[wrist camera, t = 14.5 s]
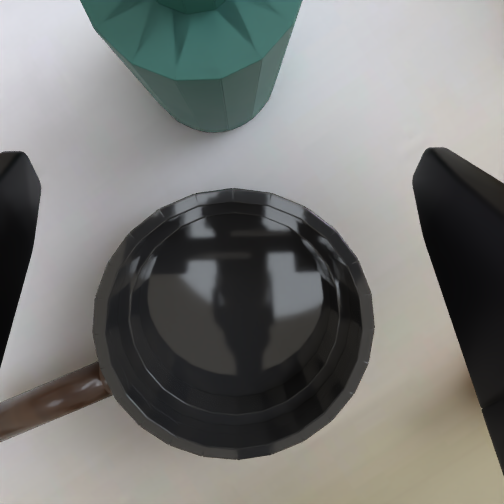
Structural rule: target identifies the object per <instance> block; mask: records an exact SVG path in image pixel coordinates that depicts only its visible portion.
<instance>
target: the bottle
mask: <svg viewBox="0 0 504 504" xmlns="http://www.w3.org/2000/svg"><path fill="white" fill-rule="evenodd" d="M80 1H81V3H82V5H83V7H84V9H85V11H86V13H87V15H88V17H89V19H90V21H91V24H92V26H93V28H94V29H95V30H96V32H97V33H98V34H99V35H100V36H101V38H102V39H103V40H104V41H105V42H106V43H107V44H108V46H109V47H110V48H111V49H112V50H113V51H114V52H115V54H116V55H117V56H118V57H119V58H120V59H121V60H122V62H123V63H124V64H125V65H126V66H127V67H128V68H129V70H130V71H131V72H132V73H133V74H134V75H135V76H136V78H137V79H138V80H139V81H140V82H141V83H142V84H143V86H144V87H145V88H146V89H147V90H148V91H149V92H150V94H151V95H152V96H153V97H154V98H155V99H156V100H157V102H158V103H159V104H160V105H161V106H162V107H163V108H164V109H165V110H166V111H168V112H169V114H170V115H172V116H173V117H174V118H175V119H176V120H177V121H178V122H180V123H183V124H184V125H186V126H188V127H191V128H193V129H196V130H200V131H205V132H223V131H228V130H232V129H235V128H237V127H240V126H242V125H243V124H245V123H247V122H248V121H250V120H251V119H252V118H254V117H255V116H256V115H257V114H258V113H259V112H260V110H261V109H262V108H263V107H264V105H265V104H266V102H267V101H268V100H269V98H270V95H271V92H272V89H273V87H274V84H275V81H276V78H277V75H278V72H279V69H280V66H281V63H282V60H283V57H284V54H285V51H286V48H287V45H288V42H289V39H290V36H291V33H292V30H293V27H294V24H295V21H296V18H297V15H298V12H299V9H300V6H301V3H302V0H80Z"/></svg>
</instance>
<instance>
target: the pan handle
mask: <svg viewBox="0 0 504 504" xmlns="http://www.w3.org/2000/svg"><path fill="white" fill-rule="evenodd" d="M112 395H113V394H112V392H111V390H110V388H109V386H108V384H107V382H106V380H105V378H104V376H103V374H102V372H101V370H100V367H99V362H96V363H93V364H91V365H89V366H86V367H84V368H82V369H79V370H77V371H74V372H72V373H70V374H67V375H65V376H63V377H60V378H58V379H55V380H53V381H51V382H48V383H46V384H44V385H41V386H39V387H37V388H34V389H32V390H29V391H27V392H25V393H22V394H20V395H18V396H15V397H13V398H10V399H8V400H6V401H3V402H1V403H0V442H2V441H5V440H7V439H10V438H12V437H14V436H17V435H19V434H21V433H24V432H26V431H29V430H31V429H33V428H36V427H38V426H41V425H43V424H45V423H48V422H50V421H53V420H55V419H57V418H60V417H62V416H64V415H67V414H69V413H72V412H74V411H76V410H79V409H81V408H84V407H86V406H88V405H91V404H93V403H95V402H98V401H100V400H103V399H105V398H107V397H110V396H112Z"/></svg>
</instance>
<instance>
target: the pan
mask: <svg viewBox="0 0 504 504" xmlns="http://www.w3.org/2000/svg"><path fill="white" fill-rule="evenodd" d="M374 328H375V325H374V315H373V305H372V294H371V291H370V289H369V286H368V283H367V281H366V278H365V276H364V273H363V270H362V268H361V265H360V263H359V261H358V258H357V257H356V256H355V254H354V253H353V252H352V250H351V249H350V248H349V246H348V245H347V244H346V242H345V241H344V240H343V238H342V237H341V236H340V234H339V233H338V232H337V231H336V230H335V229H334V228H333V227H332V226H330V225H329V224H328V223H326V222H325V221H324V220H322V219H321V218H320V217H319V216H317V215H316V214H315V213H313V212H312V211H311V210H310V209H308V208H306V207H305V206H302V205H300V204H297V203H295V202H293V201H290V200H288V199H285V198H283V197H280V196H278V195H276V194H273V193H269V192H261V191H253V190H245V189H237V188H233V189H232V188H230V189H223V190H216V191H209V192H202V193H196V194H192V195H190V196H188V197H185V198H183V199H181V200H178V201H176V202H174V203H171V204H169V205H167V206H164V207H162V208H160V209H158V210H157V211H156V212H154V213H153V214H152V215H151V216H149V217H148V218H147V219H146V220H144V221H143V222H142V223H141V224H139V225H138V226H137V227H136V228H134V229H133V230H132V231H131V232H130V233H129V234H128V235H127V236H126V238H125V239H124V241H123V242H122V243H121V245H120V246H119V248H118V249H117V250H116V252H115V253H114V255H113V256H112V257H111V259H110V260H109V262H108V264H107V266H106V269H105V271H104V274H103V277H102V280H101V282H100V285H99V288H98V291H97V293H96V298H95V303H94V317H93V332H92V333H93V338H94V343H95V348H96V353H97V357H98V362H99V367H100V370H101V372H102V374H103V376H104V378H105V380H106V382H107V384H108V386H109V388H110V390H111V392H112V394H113V395H114V397H115V399H116V400H117V402H118V403H119V404H120V405H121V406H122V407H123V408H124V409H125V411H126V412H127V413H128V414H129V415H130V416H131V417H132V418H133V419H134V420H135V422H136V423H137V424H138V425H140V426H141V427H142V428H143V429H145V430H146V431H148V432H150V433H151V434H153V435H154V436H156V437H157V438H159V439H160V440H162V441H163V442H165V443H166V444H168V445H169V444H170V446H173V447H176V448H178V449H181V450H184V451H187V452H190V453H193V454H196V455H199V456H202V455H203V457H212V458H223V459H234V460H236V459H237V460H240V459H247V458H254V457H260V456H267V455H271V454H274V453H277V452H279V451H282V450H284V449H286V448H289V447H291V446H294V445H296V444H299V443H301V442H303V440H304V441H305V440H306V439H308V438H309V437H311V436H312V435H313V434H315V433H316V432H317V431H319V430H320V429H321V428H323V427H324V426H326V425H327V424H328V423H330V422H331V420H333V419H334V418H335V417H336V415H337V414H338V413H339V412H340V411H341V409H342V408H343V407H344V406H345V404H346V403H347V402H348V401H349V400H350V398H351V397H352V396H353V394H354V393H355V391H356V389H357V387H358V385H359V383H360V381H361V378H362V376H363V374H364V372H365V370H366V368H367V365H368V362H369V358H370V352H371V346H372V340H373V334H374Z"/></svg>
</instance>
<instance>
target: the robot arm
mask: <svg viewBox="0 0 504 504" xmlns="http://www.w3.org/2000/svg"><path fill="white" fill-rule="evenodd" d="M412 185H413V190H414V195H415V200H416V205H417V210H418V214H419V219H420V224H421V229H422V233H423V237H424V241H425V244H426V247H427V250H428V253H429V256H430V259H431V262H432V265H433V268H434V271H435V274H436V277H437V280H438V282H439V285H440V288H441V291H442V294H443V297H444V300H445V303H446V306H447V309H448V312H449V315H450V318H451V321H452V324H453V327H454V330H455V333H456V336H457V339H458V342H459V344H460V347H461V350H462V353H463V356H464V359H465V362H466V365H467V368H468V371H469V374H470V377H471V380H472V383H473V386H474V389H475V392H476V395H477V398H478V401H479V404H480V407H481V408H483V409H482V413H483V416H484V419H485V422H486V425H487V428H488V431H489V434H490V437H491V440H492V443H493V446H494V449H495V451H496V454H497V457H498V460H499V463H500V466H501V469H502V472H503V475H504V183H502V182H501V181H499V180H497V179H496V178H494V177H493V176H491V175H489V174H488V173H486V172H484V171H483V170H481V169H480V168H478V167H476V166H475V165H473V164H471V163H470V162H468V161H467V160H465V159H463V158H462V157H460V156H458V155H457V154H455V153H454V152H452V151H450V150H449V149H447V148H444V147H436V148H428V149H426V150H425V151H424V153H423V155H422V157H421V160H420V162H419V164H418V166H417V168H416V171H415V173H414V175H413V180H412ZM40 196H41V184H40V181H39V178H38V176H37V174H36V172H35V170H34V168H33V166H32V164H31V162H30V160H29V158H28V156H27V155H26V154H25V153H24V152H22V151H5V152H2V153H0V367H1V363H2V359H3V356H4V352H5V349H6V345H7V341H8V338H9V334H10V330H11V327H12V323H13V320H14V316H15V312H16V309H17V305H18V302H19V298H20V294H21V291H22V287H23V283H24V280H25V276H26V273H27V269H28V265H29V262H30V258H31V254H32V250H33V245H34V240H35V232H36V225H37V218H38V210H39V203H40Z"/></svg>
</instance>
